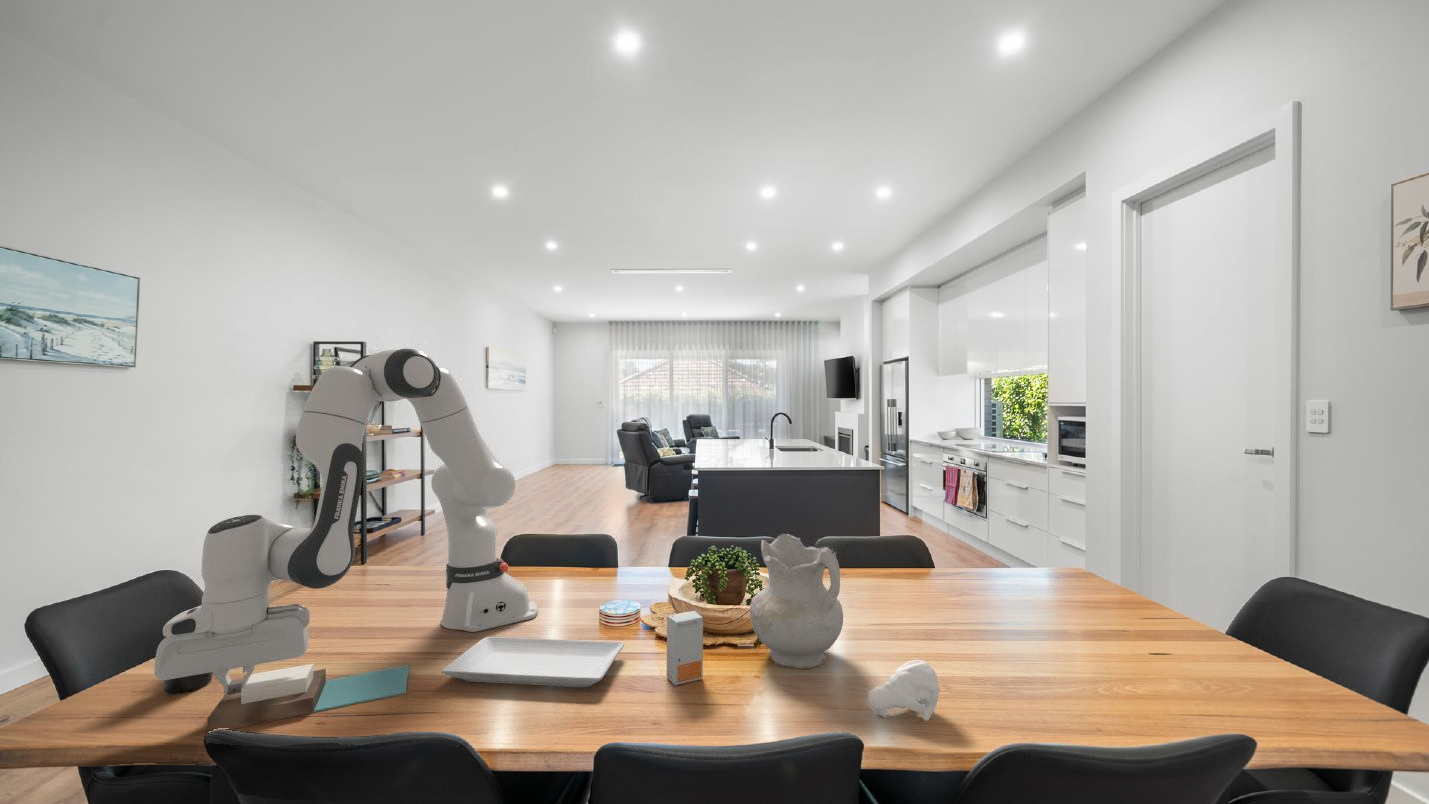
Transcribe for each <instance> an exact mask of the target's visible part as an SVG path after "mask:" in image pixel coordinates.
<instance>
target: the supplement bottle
mask: <svg viewBox="0 0 1429 804" xmlns="http://www.w3.org/2000/svg"><path fill="white" fill-rule="evenodd" d="M213 674H214V672H210V673H204V674H198V675H192V676H186V677H180V678H174V679H168V680H162V684H163V686H162V687H163V689H162V690H163V692H164V693H166V694H170V695H178V694H185V693H188V692H189V693H190V692H192V691H195V690H199V689H201V688H204V687H205V686H207V685H209V683H211V681H212V680H213Z"/></svg>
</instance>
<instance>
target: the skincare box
mask: <svg viewBox="0 0 1429 804" xmlns="http://www.w3.org/2000/svg"><path fill="white" fill-rule="evenodd" d="M703 658H704V617H703V616H702V615H700V613H698V612H697V611H695V610H691V611H685V612H684V611H683V612H679V613H676V614H670V615H666V678H668V680H669V681H670V682H671V683H672V684H673V686H679V685H683V684H686V683H690V682H695V681H699V680H703V677H704V675H703V674H704V667H703V666H704V665H703V664H704V663H703V662H704V659H703Z"/></svg>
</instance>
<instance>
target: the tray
mask: <svg viewBox="0 0 1429 804" xmlns="http://www.w3.org/2000/svg"><path fill="white" fill-rule="evenodd" d="M624 646H625V642H623V641H606V640H603V641H601V640H600V641H599V640H582V639H581V640H580V639H579V640H578V639H576V640H575V639H550V638H549V639H548V638H530V637H511V636H486V637H484V638H482V639H480V640H479V641H478V642H477V643H475V644H473V645H472V646H471V647H470V648H468V649H467V650H466V651H465V652H463V653H462V654H461V655H460V656H458V657H456V658H455V659H454V660H453V661H451V662H450V663H449V664H447V665H445V667H443V668H442V669H441V671H440V672H441V674H444V675H447V676H450V677H452V678H457V679H461V680H464V681H465V682H472V683H473V682H477V683H496V684H515V685H532V686H534V685H535V686H551V687H553V686H554V687H555V686H556V687H573V688H588V687H591V686H592V685H594V684H596V683H599V682H600V681H601V680H602V679H603V678H604V676H605V675H606V674H607V672H608V670H609V669H610V667H611V665H612V664H613V663H614V661H615V659H616V658H617V657H618V655H619V654H620V652H621V651H622V650H623V648H624Z"/></svg>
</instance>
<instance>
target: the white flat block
mask: <svg viewBox="0 0 1429 804" xmlns="http://www.w3.org/2000/svg"><path fill="white" fill-rule="evenodd" d="M313 671H314V663H311V664H310V663H309V664H304V665H297V666H293V667H292V666H291V667H286V668H281V669H275V670H269V671H268V670H267V671H263V672H262V671H261V672H257V673H252V674H251V675H250V677H249V678H248V681H247V682H246V683H245V685H244V686H243V688H242V689H241V704H245V703H250V702H255V701H261V700H266V699H271V698H277V697H282V696H287V695H293V694H298V693H303V692H307V689H308V687H309V685H310V683H311V681H312V679H313Z"/></svg>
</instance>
